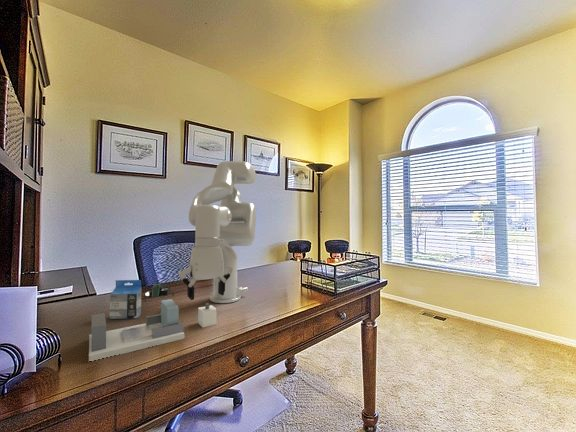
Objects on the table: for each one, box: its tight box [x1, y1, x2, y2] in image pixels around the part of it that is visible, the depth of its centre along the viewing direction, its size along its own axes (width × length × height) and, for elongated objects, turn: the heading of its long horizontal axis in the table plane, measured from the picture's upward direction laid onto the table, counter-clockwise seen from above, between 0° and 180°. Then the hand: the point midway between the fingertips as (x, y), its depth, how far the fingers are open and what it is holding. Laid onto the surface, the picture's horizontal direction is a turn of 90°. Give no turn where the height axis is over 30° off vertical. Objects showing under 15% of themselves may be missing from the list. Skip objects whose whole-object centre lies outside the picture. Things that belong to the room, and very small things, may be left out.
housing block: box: [197, 302, 218, 328], centre depth 89 cm, size 4×4×6 cm
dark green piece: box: [145, 281, 175, 298], centre depth 122 cm, size 15×15×6 cm
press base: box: [88, 322, 185, 362], centre depth 78 cm, size 22×14×2 cm, turn 125°
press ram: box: [160, 298, 180, 326], centre depth 83 cm, size 3×9×7 cm, turn 35°
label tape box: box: [109, 279, 142, 320], centre depth 94 cm, size 9×4×12 cm, turn 95°
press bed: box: [91, 312, 184, 352], centre depth 78 cm, size 22×11×6 cm, turn 125°
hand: (206, 296), depth 88 cm, fingers open, 9 cm apart
